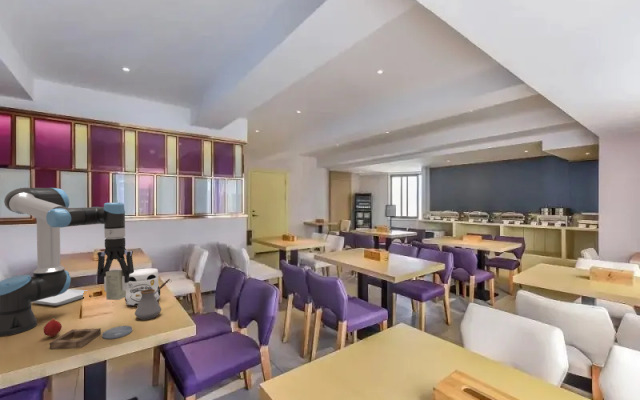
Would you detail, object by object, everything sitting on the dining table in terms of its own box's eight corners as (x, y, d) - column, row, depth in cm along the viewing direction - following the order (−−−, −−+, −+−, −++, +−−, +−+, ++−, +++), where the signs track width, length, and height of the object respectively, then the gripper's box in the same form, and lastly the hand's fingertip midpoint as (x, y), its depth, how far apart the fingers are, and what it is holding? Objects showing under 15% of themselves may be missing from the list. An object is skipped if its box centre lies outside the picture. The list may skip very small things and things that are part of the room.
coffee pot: (148, 322, 146) (148, 291, 146) (129, 320, 149) (128, 289, 149) (179, 306, 167) (179, 279, 166) (161, 304, 169) (161, 277, 169)
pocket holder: (49, 349, 121) (49, 342, 121) (71, 335, 133) (71, 329, 133) (81, 347, 122) (81, 341, 122) (100, 334, 134) (100, 328, 134)
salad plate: (28, 305, 172) (28, 299, 172) (69, 293, 192) (69, 288, 192) (55, 309, 166) (55, 302, 166) (94, 296, 186) (94, 291, 186)
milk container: (136, 310, 161) (135, 276, 161) (118, 305, 169) (117, 272, 169) (167, 300, 176) (166, 269, 176) (149, 296, 184) (148, 266, 184)
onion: (40, 341, 128) (40, 322, 128) (48, 335, 133) (48, 316, 133) (57, 339, 129) (56, 320, 129) (64, 333, 135) (64, 315, 135)
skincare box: (126, 297, 136) (126, 269, 136) (119, 300, 131) (119, 272, 131) (113, 296, 136) (113, 269, 136) (105, 299, 132) (105, 271, 132)
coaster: (96, 339, 128) (96, 337, 128) (112, 328, 139) (111, 326, 139) (123, 338, 129) (123, 336, 129) (137, 327, 140) (137, 325, 140)
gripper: (85, 239, 129) (86, 293, 129) (133, 238, 130) (134, 292, 131) (97, 237, 137) (98, 288, 137) (142, 236, 138) (143, 287, 138)
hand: (116, 290), depth 134 cm, fingers closed on skincare box, 7 cm apart
